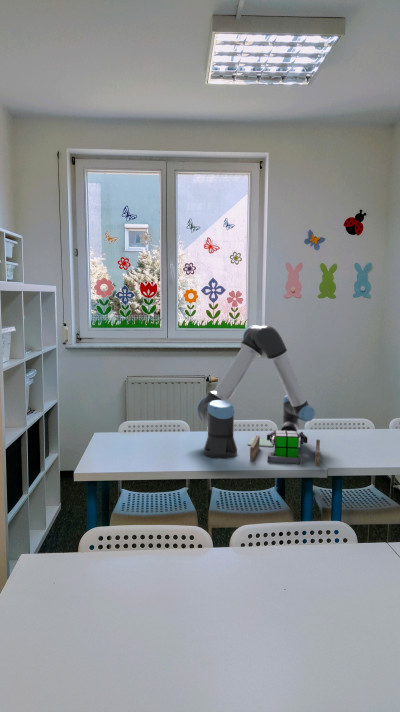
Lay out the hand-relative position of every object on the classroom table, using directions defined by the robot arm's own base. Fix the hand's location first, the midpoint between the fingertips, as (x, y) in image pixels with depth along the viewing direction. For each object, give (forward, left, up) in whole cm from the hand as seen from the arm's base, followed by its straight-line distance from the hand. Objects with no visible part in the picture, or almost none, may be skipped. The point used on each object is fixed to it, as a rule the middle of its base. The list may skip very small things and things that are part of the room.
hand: (285, 443), depth 219 cm
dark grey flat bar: (0, -5, -7) cm, 8 cm away
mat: (-13, +21, -7) cm, 26 cm away
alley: (0, +2, -7) cm, 7 cm away
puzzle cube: (0, +4, -7) cm, 8 cm away
